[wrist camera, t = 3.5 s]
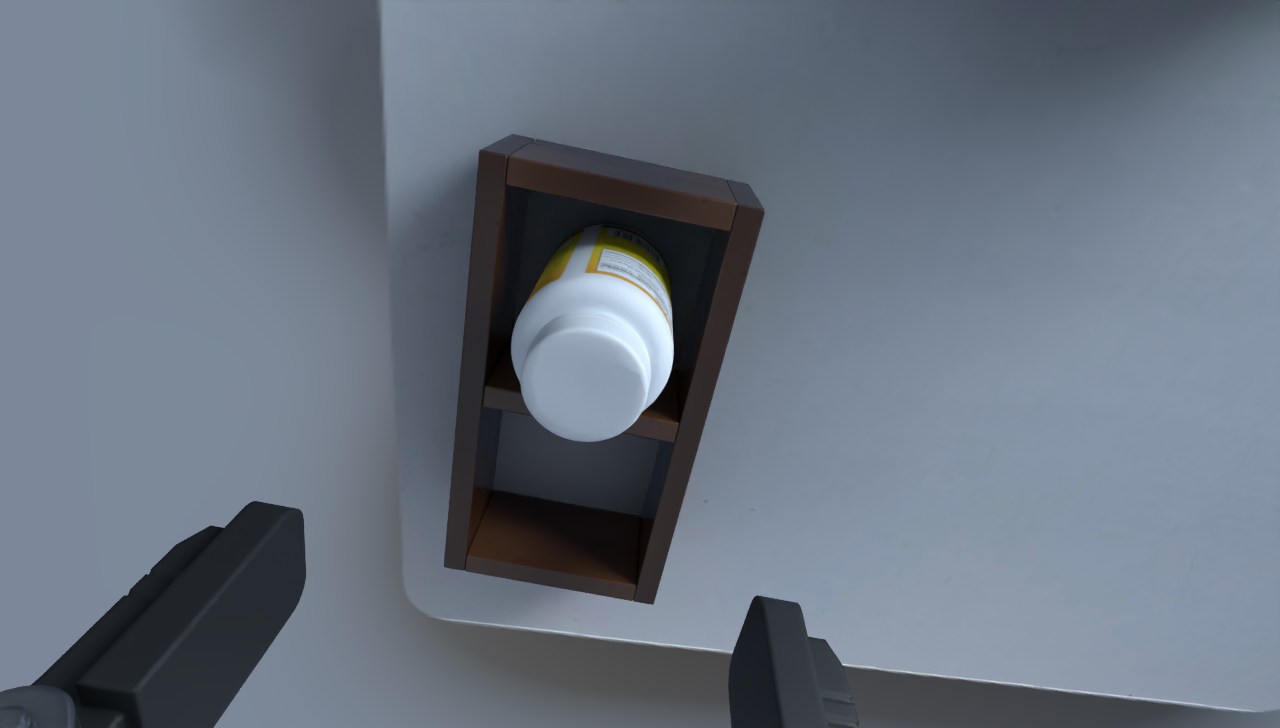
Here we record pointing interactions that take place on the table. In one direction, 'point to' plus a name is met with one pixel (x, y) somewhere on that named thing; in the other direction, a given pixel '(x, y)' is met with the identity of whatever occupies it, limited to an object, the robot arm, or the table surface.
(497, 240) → the bottle rack
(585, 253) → the supplement bottle
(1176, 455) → the table surface
